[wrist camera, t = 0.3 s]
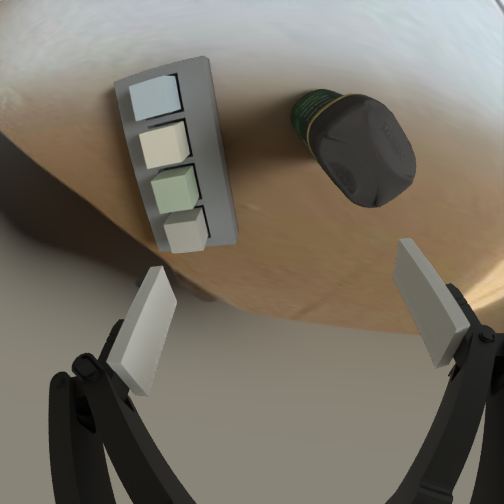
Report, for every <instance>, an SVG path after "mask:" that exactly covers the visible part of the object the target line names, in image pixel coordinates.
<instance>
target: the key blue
mask: <svg viewBox="0 0 504 504" xmlns="http://www.w3.org/2000/svg"><path fill="white" fill-rule="evenodd" d="M129 90H130V95H131V100H132V105H133V110H134V115H135V119H136V121H139V120H143V119H146V118H150V117H153V116H157V115H161V114H165V113H169V112H173V111H176V110H179V109H181V106H180V101H179V95H178V90H177V84H176V79H175V76H166V75H164V76H161V77H157V78H154V79H150V80H147V81H144V82H141V83H138V84H135V85H132V86H129Z"/></svg>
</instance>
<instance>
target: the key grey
mask: <svg viewBox="0 0 504 504" xmlns="http://www.w3.org/2000/svg"><path fill="white" fill-rule="evenodd" d="M164 229H165V232H166V235H167V238H168V241H169V244H170V248H171V251H172V254H174V253H184V252H194V251H204V247H205V244H206V241H207V238H208V232H207V227H206V223H205V219H204V215H203V210H202V207H200V208H193V209H190V210H183V211H176V212H171V214H170V215H169V217H168V218H167V220H166V222H165V223H164Z"/></svg>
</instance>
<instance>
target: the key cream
mask: <svg viewBox="0 0 504 504" xmlns="http://www.w3.org/2000/svg"><path fill="white" fill-rule="evenodd" d="M139 137H140V141H141V146H142V150H143V154H144V158H145V162H146V166H147V169H150V168H155V167H159V166H164V165H169V164H174V163H180V162H182V161H183V160H184V159H185V158H186V157H187V156H188V155H189V154H190V151H189V147H188V142H187V137H186V132H185V127H184V122H183V121H181V122H176V123H172V124H168V125H163V126H159V127H155V128H151V129H149V130H147V131H145V132H143V133H140V134H139Z"/></svg>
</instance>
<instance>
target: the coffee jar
mask: <svg viewBox="0 0 504 504" xmlns="http://www.w3.org/2000/svg"><path fill="white" fill-rule="evenodd" d="M291 122H292V125H293V127H294V128H295V130H296V131H297V133H298V134H299V136H300V137H301V139H302V140H303V142H304V143H305V145H306V146H307V148H308V149H309V151H310V152H311V154H312V155H313V157H314V158H315V160H316V161H317V162H318V163H319V165H320V166H321V167H322V169H323V170H324V171H325V173H326V174H327V175H328V176H329V177H330V179H331V180H332V181H333V182H334V184H335V185H336V186H337V187H338V188H339V189H340V190H341V191H342V192H343V193H344V195H345V196H346V197H347V198H348V199H349V200H350V201H351V202H353V203H354V204H356V205H359V206H362V207H367V208H374V207H381V206H383V205H384V204H386V203H388V202H389V201H391V200H392V199H394V198H395V197H397V196H398V195H400V194H401V193H402V192H403V191H405V190H406V189H407V188H408V187H409V186H410V185H411V184H412V182H413V179H414V176H415V173H416V158H415V154H414V152H413V149H412V146H411V144H410V142H409V140H408V139H407V137H406V135H405V133H404V131H403V130H402V128H401V126H400V125H399V123H398V121H397V120H396V118H395V116H394V115H393V113H392V112H391V111H390V110H389V109H388V108H387V107H386V106H385V105H384V104H382V103H381V102H379V101H377V100H375V99H373V98H371V97H368V96H366V95H362V94H347V95H341V94H339V93H336V92H334V91H331V90H327V89H318V90H315V91H313V92H311V93H309V94H308V95H306V96H305V97H303V98H302V99H301V100H300V101H299V102H298V103H297V104H296V105H295V106H294V107H293V109H292V111H291Z"/></svg>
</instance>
